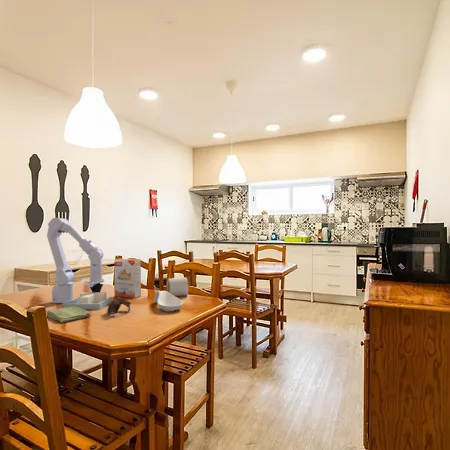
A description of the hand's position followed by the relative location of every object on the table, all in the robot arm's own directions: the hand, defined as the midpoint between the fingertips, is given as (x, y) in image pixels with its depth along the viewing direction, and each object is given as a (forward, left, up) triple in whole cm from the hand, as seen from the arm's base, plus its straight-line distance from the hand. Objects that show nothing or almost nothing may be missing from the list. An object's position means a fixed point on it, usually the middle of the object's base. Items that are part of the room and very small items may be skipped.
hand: (96, 298), depth 167 cm
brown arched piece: (+20, -24, -2) cm, 32 cm away
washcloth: (+1, -30, -2) cm, 30 cm away
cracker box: (+13, +11, -2) cm, 17 cm away
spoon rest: (+40, -14, -2) cm, 42 cm away
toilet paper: (+41, +12, -2) cm, 43 cm away
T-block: (0, -8, -1) cm, 8 cm away
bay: (0, -9, -1) cm, 9 cm away
